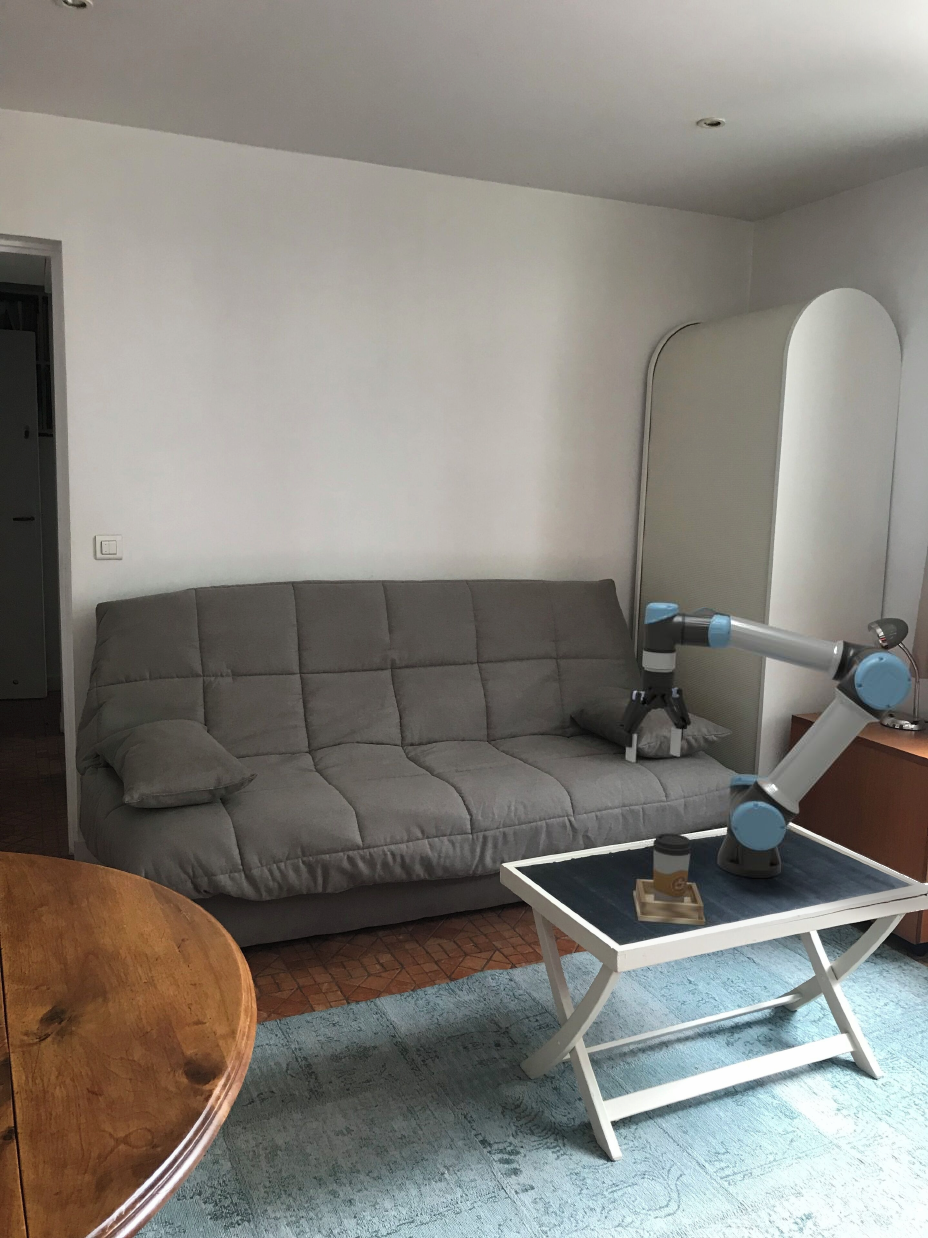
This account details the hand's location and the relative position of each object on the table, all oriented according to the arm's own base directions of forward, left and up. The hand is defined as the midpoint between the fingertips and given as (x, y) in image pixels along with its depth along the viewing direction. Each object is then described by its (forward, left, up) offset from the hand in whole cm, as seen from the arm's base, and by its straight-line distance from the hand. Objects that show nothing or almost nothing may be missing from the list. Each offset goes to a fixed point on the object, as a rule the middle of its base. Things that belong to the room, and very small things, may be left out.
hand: (653, 758), depth 235 cm
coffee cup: (-3, +20, -28) cm, 34 cm away
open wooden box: (-3, +20, -29) cm, 35 cm away
